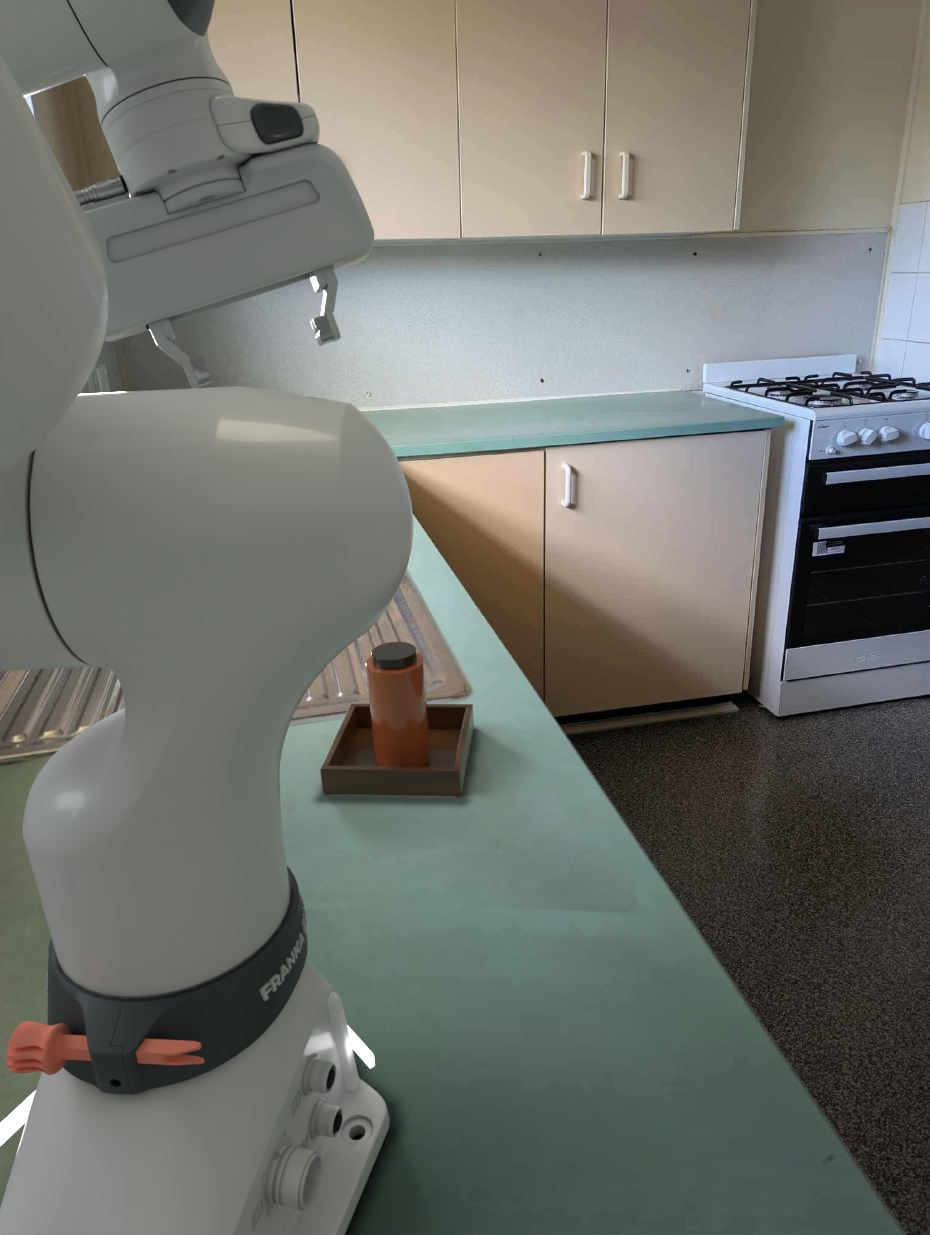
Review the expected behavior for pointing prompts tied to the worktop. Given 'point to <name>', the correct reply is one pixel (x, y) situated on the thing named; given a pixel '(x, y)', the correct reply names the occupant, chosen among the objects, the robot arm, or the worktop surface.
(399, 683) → the spice jar
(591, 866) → the worktop surface
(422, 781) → the tray
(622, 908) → the worktop surface
